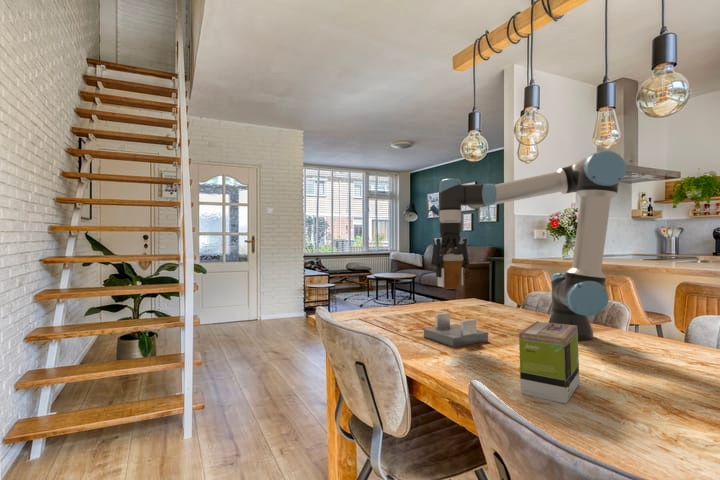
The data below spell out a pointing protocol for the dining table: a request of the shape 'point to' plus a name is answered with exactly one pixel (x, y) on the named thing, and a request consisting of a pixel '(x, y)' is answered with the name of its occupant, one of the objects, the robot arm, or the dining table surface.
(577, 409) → the dining table surface
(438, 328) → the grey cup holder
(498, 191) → the robot arm
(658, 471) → the dining table surface
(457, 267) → the disposable coffee cup
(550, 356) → the tea box
